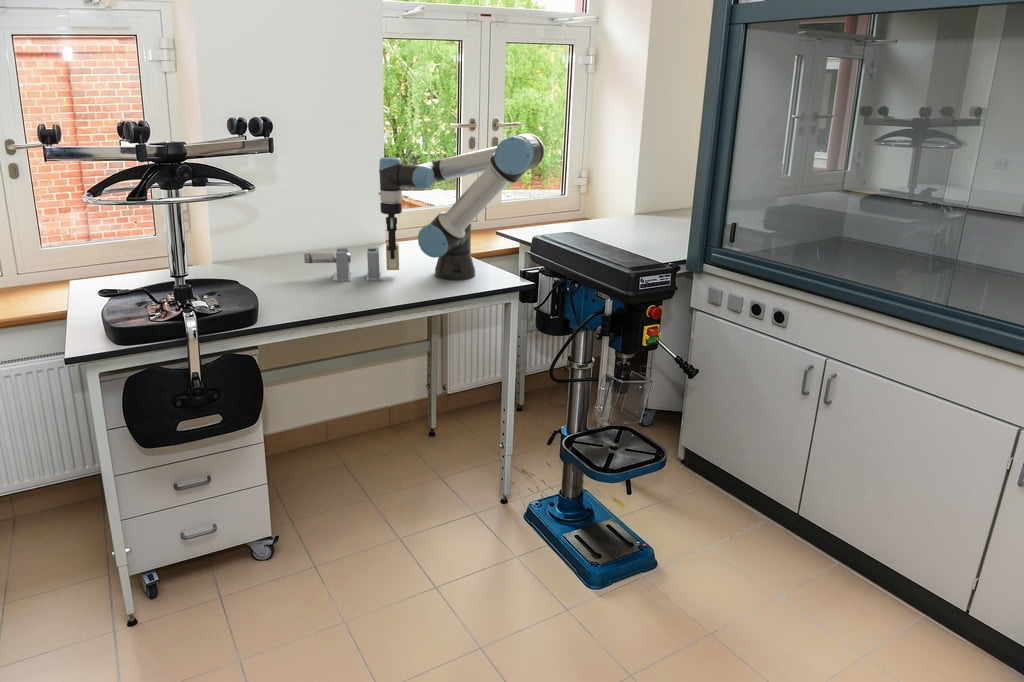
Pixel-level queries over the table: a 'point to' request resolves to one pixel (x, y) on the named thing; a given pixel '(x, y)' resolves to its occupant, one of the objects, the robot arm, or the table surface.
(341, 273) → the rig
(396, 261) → the spacer
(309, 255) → the shaft
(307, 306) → the table surface
